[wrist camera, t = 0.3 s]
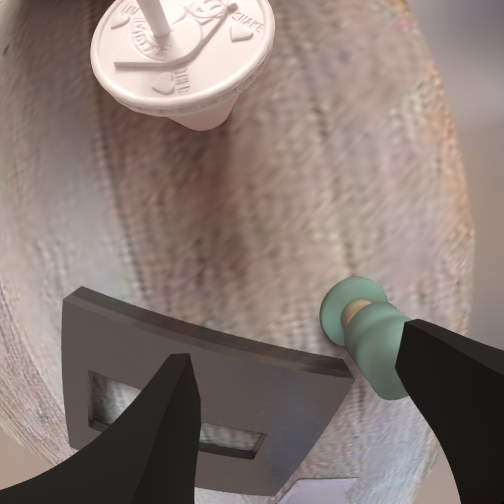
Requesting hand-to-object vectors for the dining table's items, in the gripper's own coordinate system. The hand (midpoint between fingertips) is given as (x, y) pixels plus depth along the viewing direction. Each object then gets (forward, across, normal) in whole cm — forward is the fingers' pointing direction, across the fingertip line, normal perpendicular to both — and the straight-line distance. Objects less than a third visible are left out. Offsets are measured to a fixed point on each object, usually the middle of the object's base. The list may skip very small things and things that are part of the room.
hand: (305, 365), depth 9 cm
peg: (+10, -6, +4) cm, 12 cm away
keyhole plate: (+9, +7, +12) cm, 17 cm away
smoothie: (+12, +3, -10) cm, 16 cm away
